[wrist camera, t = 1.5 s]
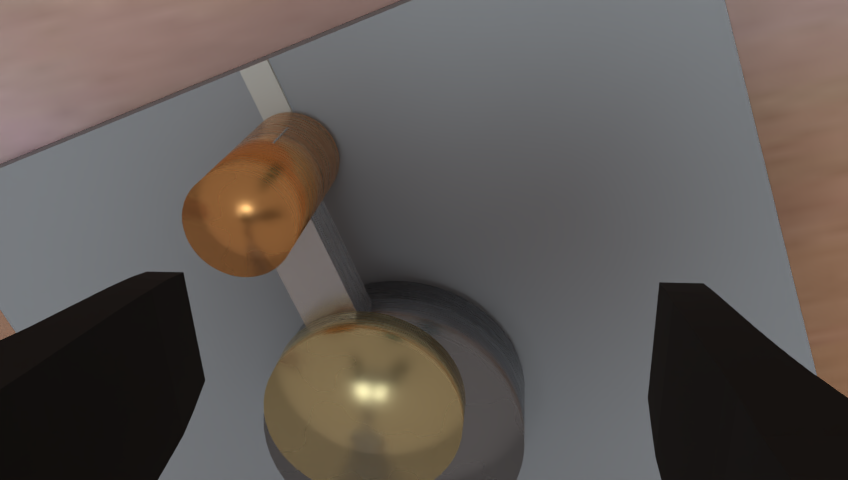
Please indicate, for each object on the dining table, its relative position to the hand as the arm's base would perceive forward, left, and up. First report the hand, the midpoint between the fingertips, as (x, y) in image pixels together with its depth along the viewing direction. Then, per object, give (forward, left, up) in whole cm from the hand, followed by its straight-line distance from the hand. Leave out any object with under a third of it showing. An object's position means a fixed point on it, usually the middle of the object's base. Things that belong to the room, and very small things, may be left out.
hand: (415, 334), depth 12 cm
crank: (-4, +4, -9) cm, 10 cm away
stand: (-6, +4, -10) cm, 13 cm away
